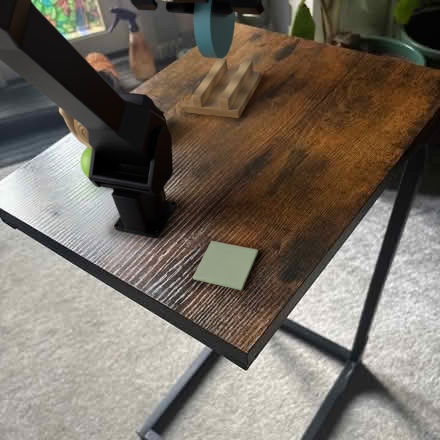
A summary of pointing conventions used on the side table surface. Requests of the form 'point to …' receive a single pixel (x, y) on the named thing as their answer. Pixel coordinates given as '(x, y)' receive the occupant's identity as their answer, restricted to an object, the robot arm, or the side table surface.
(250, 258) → the felt pad
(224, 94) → the rack
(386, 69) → the side table surface
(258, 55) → the side table surface
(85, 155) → the snail figurine
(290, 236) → the side table surface
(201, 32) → the disc
